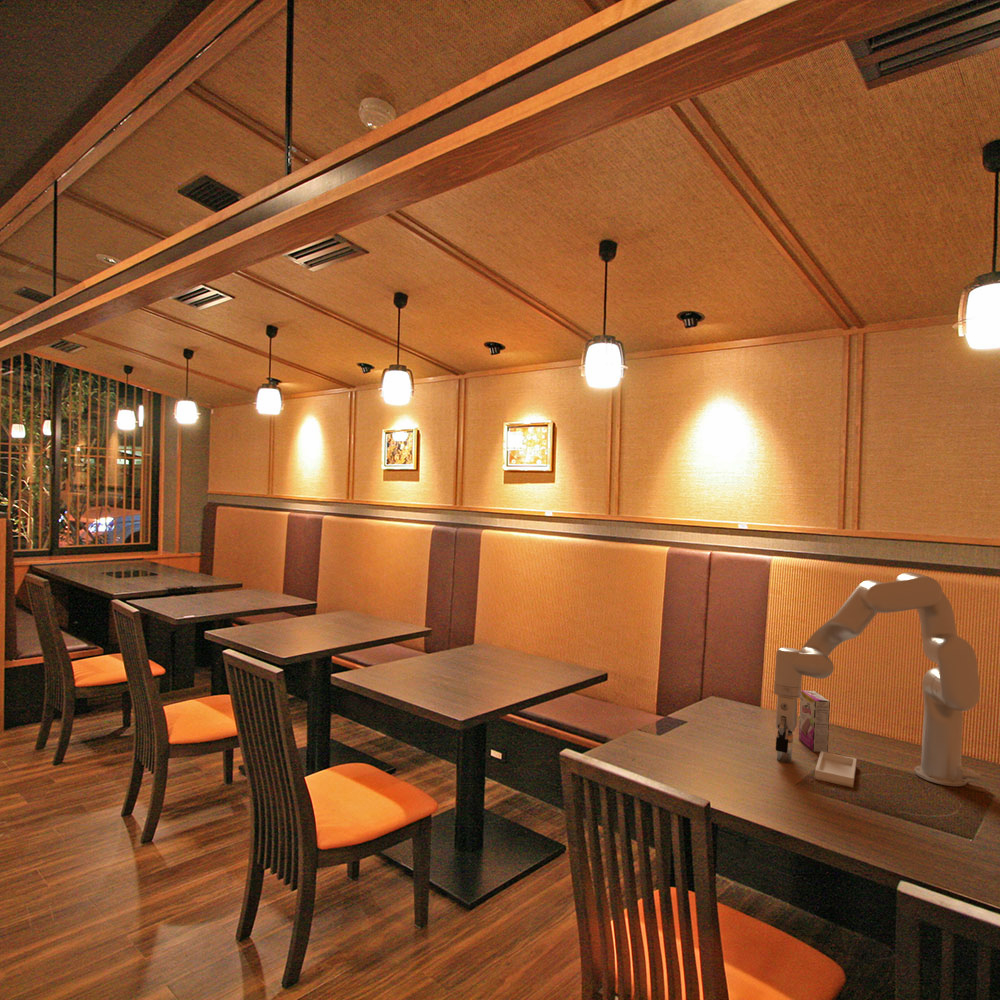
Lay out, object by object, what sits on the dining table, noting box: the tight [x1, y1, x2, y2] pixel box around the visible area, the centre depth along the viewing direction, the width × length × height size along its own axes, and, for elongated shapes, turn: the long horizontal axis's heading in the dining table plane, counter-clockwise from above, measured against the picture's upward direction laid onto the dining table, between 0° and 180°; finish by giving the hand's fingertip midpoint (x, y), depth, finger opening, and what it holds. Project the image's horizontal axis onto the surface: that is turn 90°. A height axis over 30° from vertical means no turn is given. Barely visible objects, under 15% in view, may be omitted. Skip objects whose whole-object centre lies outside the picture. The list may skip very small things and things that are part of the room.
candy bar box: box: [798, 689, 831, 753], centre depth 216 cm, size 11×5×16 cm, turn 179°
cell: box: [776, 732, 794, 764], centre depth 203 cm, size 4×4×8 cm
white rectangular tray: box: [814, 751, 857, 788], centre depth 195 cm, size 10×18×2 cm, turn 150°
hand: (783, 746), depth 203 cm, fingers open, 9 cm apart
